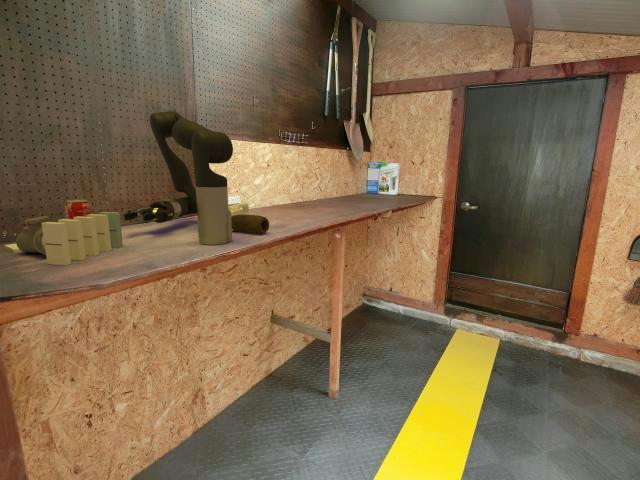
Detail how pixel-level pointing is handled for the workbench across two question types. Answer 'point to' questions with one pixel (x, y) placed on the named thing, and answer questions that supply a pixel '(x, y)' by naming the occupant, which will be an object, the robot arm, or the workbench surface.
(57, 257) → the domino
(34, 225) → the pipe fitting
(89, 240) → the domino
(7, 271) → the workbench surface
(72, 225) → the domino
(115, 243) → the domino
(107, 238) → the domino
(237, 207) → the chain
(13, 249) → the external hard drive
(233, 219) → the portable bluetooth speaker
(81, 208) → the soda can
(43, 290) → the workbench surface
